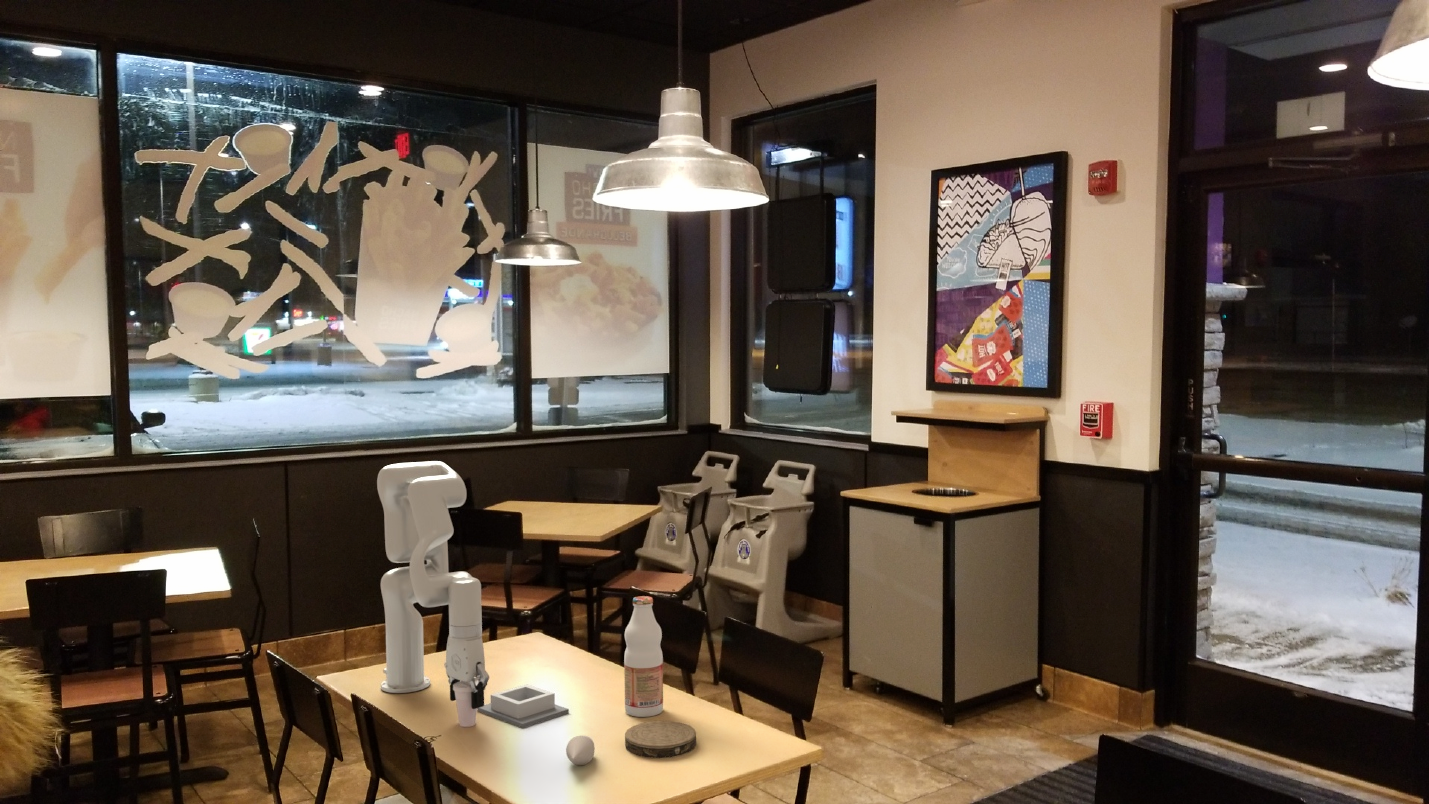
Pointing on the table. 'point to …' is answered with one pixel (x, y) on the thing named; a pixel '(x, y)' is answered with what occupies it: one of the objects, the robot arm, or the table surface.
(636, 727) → the brown flat round piece
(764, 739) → the table surface
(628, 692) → the fruit juice
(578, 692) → the table surface
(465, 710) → the smoothie
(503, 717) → the cup holder
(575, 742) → the beige pointed round piece
